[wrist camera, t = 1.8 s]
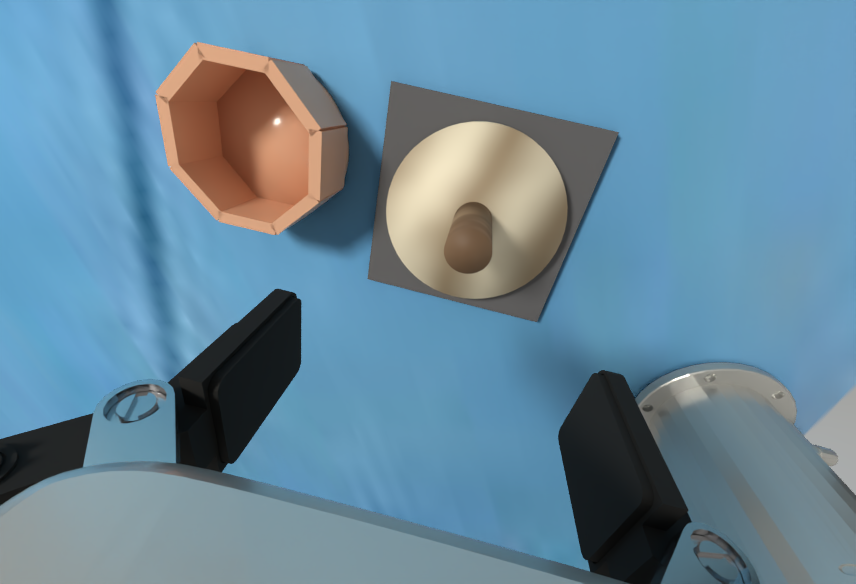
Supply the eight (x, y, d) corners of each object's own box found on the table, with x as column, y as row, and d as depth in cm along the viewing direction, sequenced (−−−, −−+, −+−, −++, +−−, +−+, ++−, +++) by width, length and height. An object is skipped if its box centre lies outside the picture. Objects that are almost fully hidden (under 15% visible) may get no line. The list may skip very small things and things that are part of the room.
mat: (615, 131, 23) (618, 132, 22) (536, 318, 30) (536, 321, 29) (393, 81, 23) (391, 81, 23) (369, 275, 31) (367, 278, 30)
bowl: (355, 75, 24) (323, 68, 19) (345, 223, 29) (318, 245, 24) (207, 44, 24) (143, 30, 20) (224, 195, 29) (176, 211, 25)
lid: (596, 145, 23) (634, 161, 17) (529, 309, 29) (539, 363, 23) (403, 101, 23) (372, 101, 17) (380, 271, 30) (351, 315, 24)
